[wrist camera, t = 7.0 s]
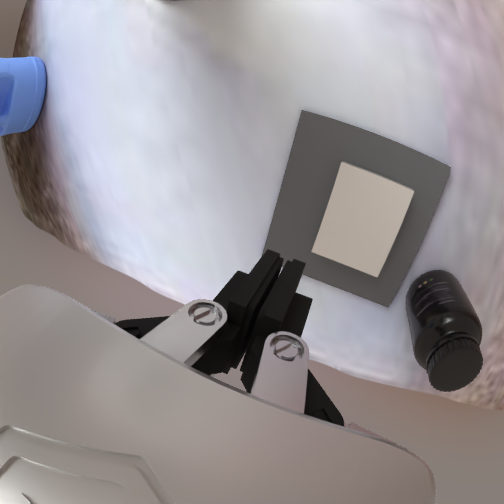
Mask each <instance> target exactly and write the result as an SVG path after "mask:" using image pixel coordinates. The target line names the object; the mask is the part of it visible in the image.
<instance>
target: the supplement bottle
mask: <svg viewBox="0 0 504 504" xmlns="http://www.w3.org/2000/svg"><path fill="white" fill-rule="evenodd" d="M406 309H407V315H408V320H409V326H410V332H411V338H412V345H413V351H414V355H415V358H416V360H417V362H418V363H419V365H420V366H421V367H423V368H424V369H425V370H427V373H428V376H429V381H430V383H431V385H432V386H433V388H436V390H440V391H444V392H447V391H448V392H450V391H455V390H458V389H461V388H463V387H465V386H466V385H468V384H469V383H470V382H472V381H473V380H474V379H475V378H476V377H477V375H478V374H479V373H480V370H481V369H482V365H483V358H482V354H481V351H480V347H479V346H480V343H481V339H482V326H481V323H480V320H479V318H478V316H477V314H476V312H475V310H474V308H473V306H472V305H471V303H470V301H469V299H468V297H467V295H466V293H465V292H464V290H463V288H462V286H461V284H460V283H459V281H458V280H457V279H456V277H455V276H453V275H452V274H451V273H449V272H446V271H443V270H434V271H430V272H427V273H425V274H423V275H421V276H420V277H418V278H417V279H416V280H415V281H414V282H413V284H412V285H411V287H410V288H409V291H408V293H407V297H406Z"/></svg>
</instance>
